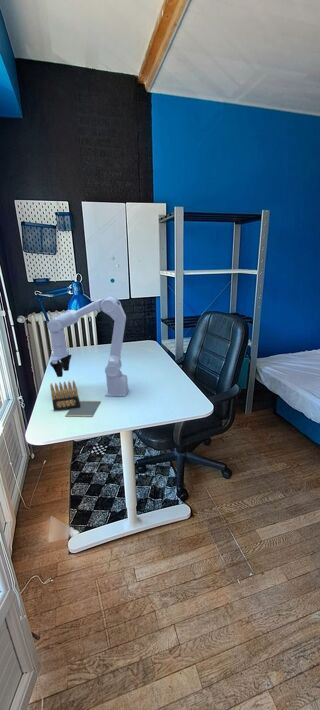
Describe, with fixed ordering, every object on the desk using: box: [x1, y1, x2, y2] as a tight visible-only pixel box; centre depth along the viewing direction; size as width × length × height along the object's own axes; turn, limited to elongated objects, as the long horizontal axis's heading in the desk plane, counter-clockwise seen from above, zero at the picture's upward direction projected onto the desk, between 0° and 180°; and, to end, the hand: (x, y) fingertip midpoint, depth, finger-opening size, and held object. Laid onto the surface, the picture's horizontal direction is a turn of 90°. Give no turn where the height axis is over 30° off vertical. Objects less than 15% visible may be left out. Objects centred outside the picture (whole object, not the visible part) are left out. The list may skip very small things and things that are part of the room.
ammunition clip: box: [50, 380, 81, 412], centre depth 122 cm, size 11×2×12 cm, turn 99°
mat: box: [64, 400, 101, 418], centre depth 124 cm, size 11×13×1 cm
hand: (63, 373), depth 135 cm, fingers open, 7 cm apart
